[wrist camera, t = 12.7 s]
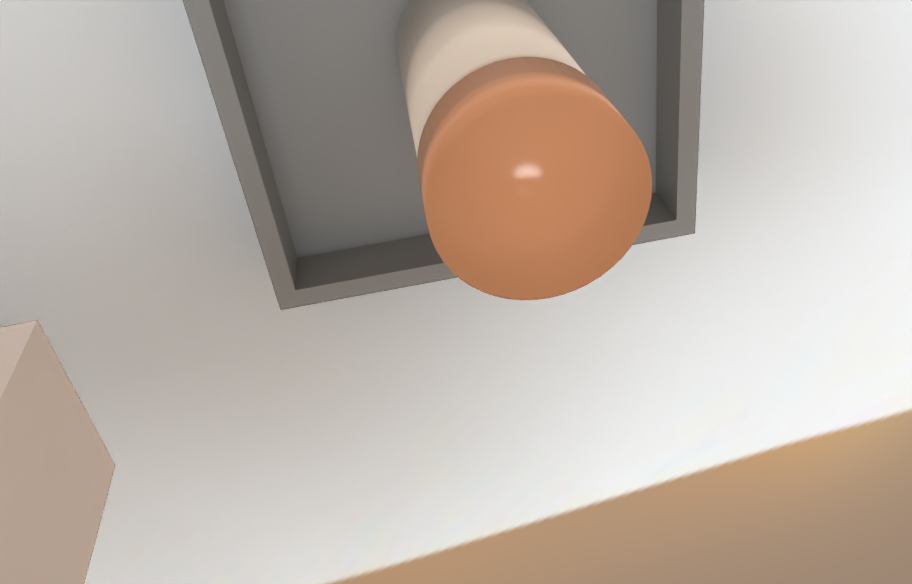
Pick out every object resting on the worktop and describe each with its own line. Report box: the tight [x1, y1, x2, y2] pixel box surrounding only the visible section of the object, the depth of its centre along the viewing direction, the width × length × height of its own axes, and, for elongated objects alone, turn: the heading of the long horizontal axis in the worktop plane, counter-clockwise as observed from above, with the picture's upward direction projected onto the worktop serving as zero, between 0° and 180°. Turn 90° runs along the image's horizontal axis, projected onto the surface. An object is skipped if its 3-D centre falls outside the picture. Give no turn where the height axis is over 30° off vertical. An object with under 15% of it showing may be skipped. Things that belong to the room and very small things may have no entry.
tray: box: [183, 0, 704, 310], centre depth 22 cm, size 13×13×2 cm
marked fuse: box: [396, 0, 652, 300], centre depth 18 cm, size 4×4×10 cm
